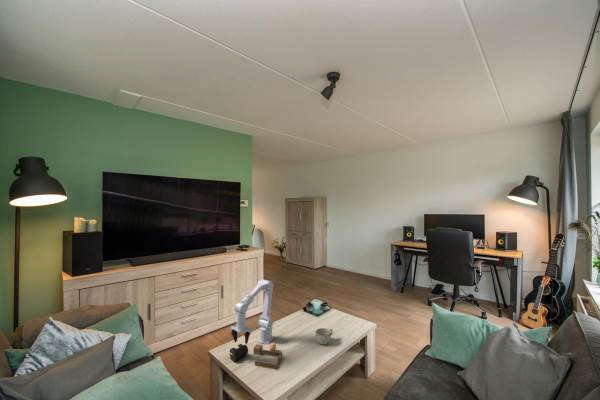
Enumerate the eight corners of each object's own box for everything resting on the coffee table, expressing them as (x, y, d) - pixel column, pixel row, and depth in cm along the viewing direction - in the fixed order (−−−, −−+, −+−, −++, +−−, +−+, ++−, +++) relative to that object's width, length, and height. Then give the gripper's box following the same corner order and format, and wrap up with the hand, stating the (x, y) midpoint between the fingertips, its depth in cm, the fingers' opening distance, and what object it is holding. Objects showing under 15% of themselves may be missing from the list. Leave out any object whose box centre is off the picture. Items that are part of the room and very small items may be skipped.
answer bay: (263, 353, 170) (263, 349, 170) (282, 356, 167) (282, 352, 167) (254, 365, 158) (254, 361, 158) (275, 369, 154) (275, 365, 154)
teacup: (319, 347, 176) (319, 336, 176) (312, 339, 187) (313, 328, 186) (337, 343, 182) (337, 332, 182) (329, 336, 192) (329, 325, 192)
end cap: (235, 363, 159) (235, 353, 159) (229, 359, 164) (229, 348, 164) (248, 356, 167) (248, 346, 167) (241, 352, 172) (241, 342, 171)
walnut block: (256, 350, 173) (256, 343, 173) (262, 351, 172) (262, 344, 172) (253, 354, 169) (253, 347, 169) (259, 355, 168) (259, 348, 168)
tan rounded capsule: (271, 349, 175) (271, 342, 175) (276, 350, 174) (276, 343, 173) (269, 352, 171) (269, 345, 171) (274, 353, 170) (274, 346, 170)
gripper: (227, 323, 163) (227, 344, 163) (248, 326, 160) (248, 347, 160) (233, 318, 170) (233, 338, 170) (253, 320, 166) (253, 341, 166)
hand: (241, 342), depth 165 cm, fingers open, 7 cm apart
